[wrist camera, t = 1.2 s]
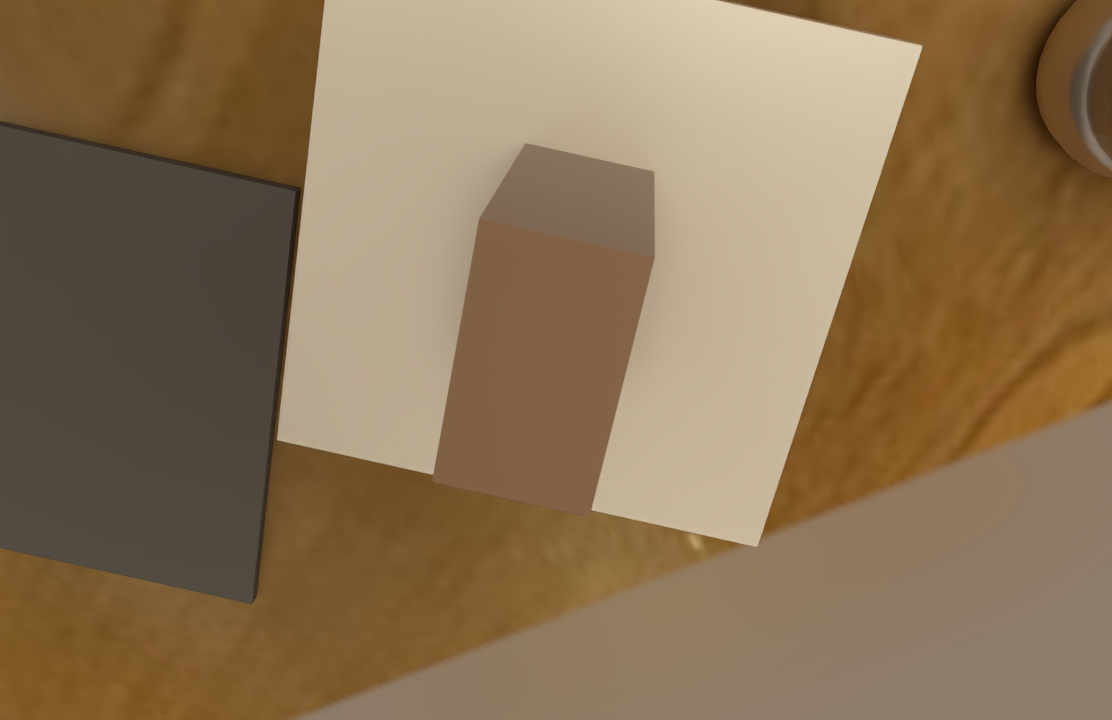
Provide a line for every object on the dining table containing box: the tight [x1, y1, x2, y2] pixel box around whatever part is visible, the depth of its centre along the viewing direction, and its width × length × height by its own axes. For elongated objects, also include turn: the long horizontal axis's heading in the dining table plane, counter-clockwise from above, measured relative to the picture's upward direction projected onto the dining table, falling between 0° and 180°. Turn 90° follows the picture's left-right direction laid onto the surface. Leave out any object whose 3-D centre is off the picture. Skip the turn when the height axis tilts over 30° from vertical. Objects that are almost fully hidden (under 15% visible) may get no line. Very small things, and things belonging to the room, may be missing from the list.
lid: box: [277, 0, 922, 547], centre depth 26 cm, size 15×15×10 cm
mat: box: [0, 122, 300, 604], centre depth 40 cm, size 18×18×1 cm
